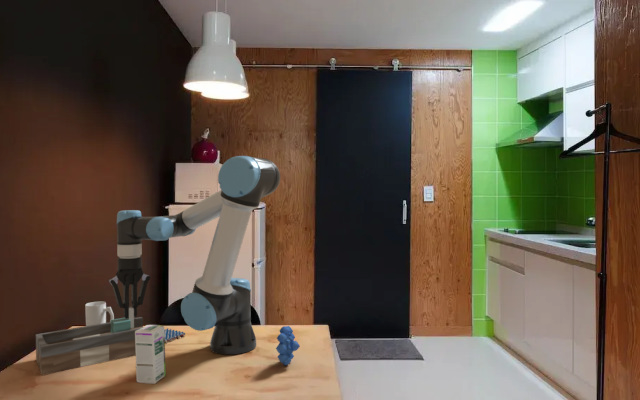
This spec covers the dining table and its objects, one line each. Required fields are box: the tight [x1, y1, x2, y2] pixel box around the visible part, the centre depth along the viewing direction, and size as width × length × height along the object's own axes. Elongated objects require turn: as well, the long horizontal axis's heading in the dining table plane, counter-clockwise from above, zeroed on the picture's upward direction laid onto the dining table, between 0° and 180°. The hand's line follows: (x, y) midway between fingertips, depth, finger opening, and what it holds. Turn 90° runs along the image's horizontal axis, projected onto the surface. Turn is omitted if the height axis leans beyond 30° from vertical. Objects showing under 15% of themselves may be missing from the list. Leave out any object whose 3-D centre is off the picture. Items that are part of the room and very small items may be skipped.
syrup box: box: [135, 324, 167, 385], centre depth 128 cm, size 6×6×14 cm
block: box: [110, 317, 131, 333], centre depth 152 cm, size 5×5×5 cm
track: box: [35, 316, 144, 376], centre depth 147 cm, size 15×32×8 cm, turn 127°
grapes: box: [275, 325, 301, 366], centre depth 138 cm, size 12×7×12 cm, turn 166°
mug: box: [84, 301, 115, 326], centre depth 166 cm, size 10×7×12 cm, turn 85°
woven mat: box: [164, 328, 186, 344], centre depth 165 cm, size 10×11×2 cm
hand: (130, 327), depth 154 cm, fingers closed
